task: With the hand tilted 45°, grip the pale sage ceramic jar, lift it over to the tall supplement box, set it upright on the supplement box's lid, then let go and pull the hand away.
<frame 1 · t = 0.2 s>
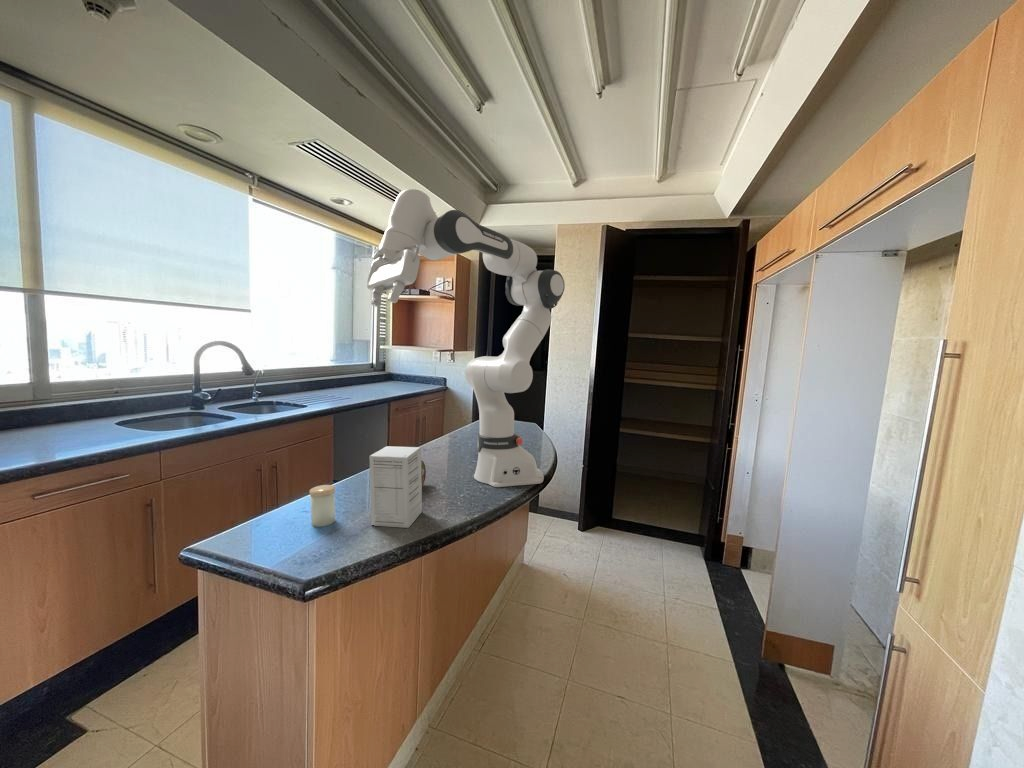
hand: (383, 304, 92), 52 cm above the countertop, tool tilted 20°, fingers open, 8 cm apart
supplement box: (397, 519, 92), on the countertop
tin: (410, 492, 109), on the countertop
jar: (323, 521, 90), on the countertop
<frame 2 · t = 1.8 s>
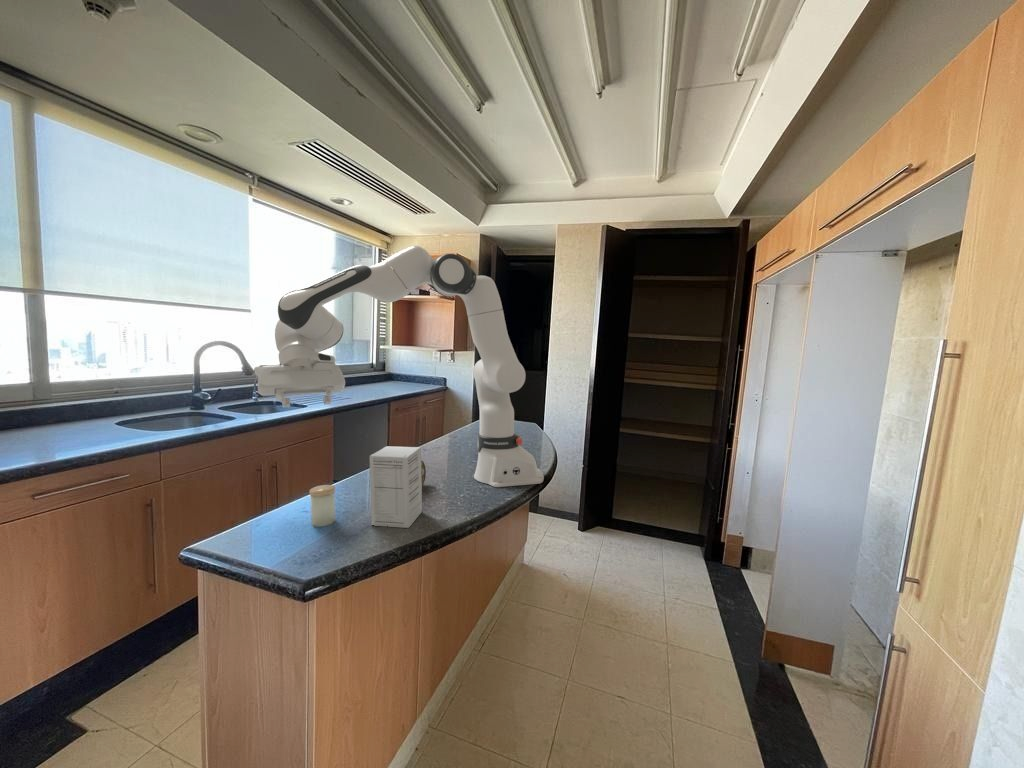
hand: (308, 404, 97), 27 cm above the countertop, tool tilted 45°, fingers open, 8 cm apart
nothing on the countertop moved.
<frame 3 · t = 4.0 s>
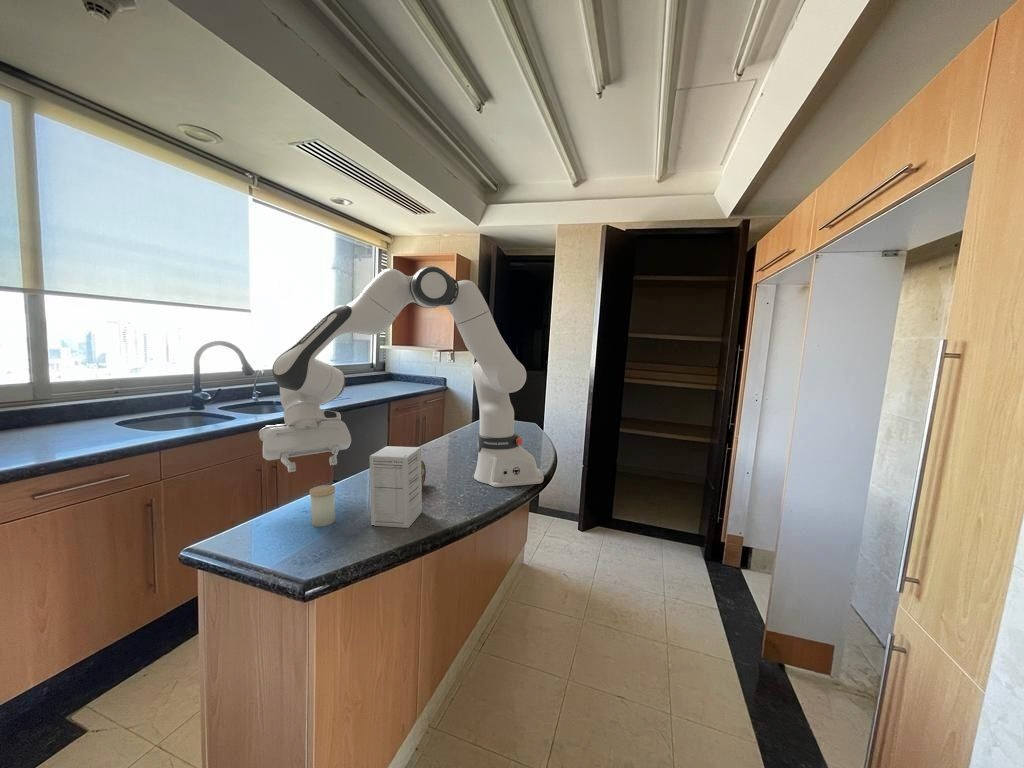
hand: (313, 467, 95), 11 cm above the countertop, tool tilted 45°, fingers open, 8 cm apart
nothing on the countertop moved.
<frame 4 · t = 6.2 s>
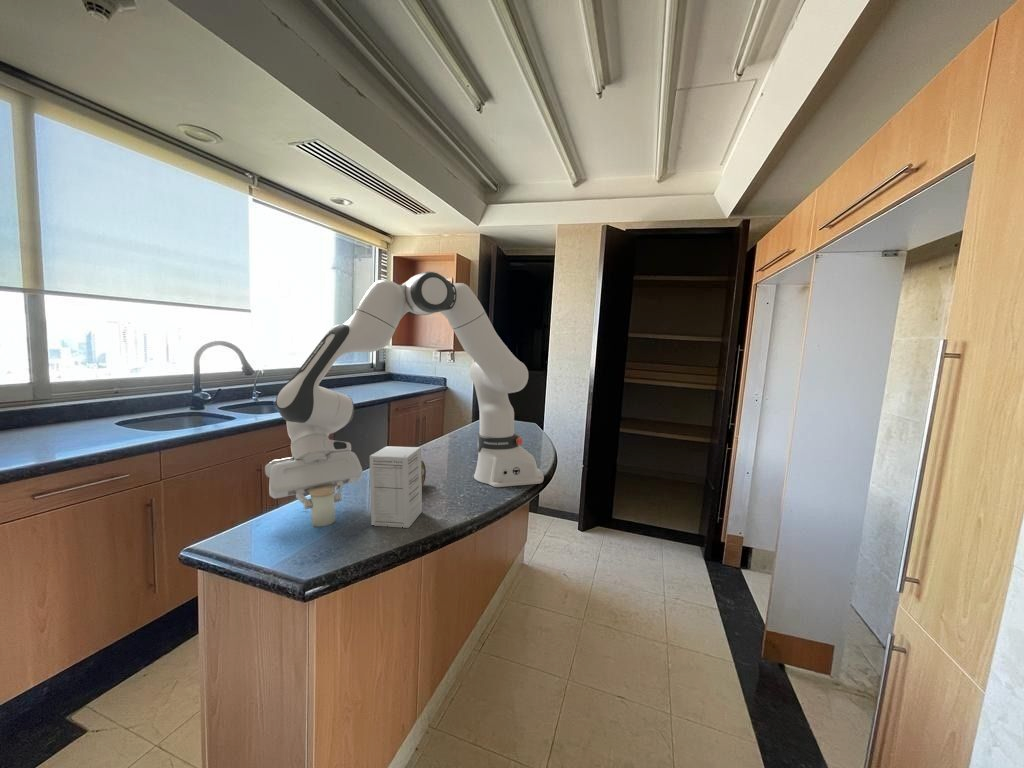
hand: (323, 504, 89), 4 cm above the countertop, tool tilted 45°, fingers closed on jar, 5 cm apart
jar: (323, 521, 90), on the countertop, touching gripper
everything else where it was.
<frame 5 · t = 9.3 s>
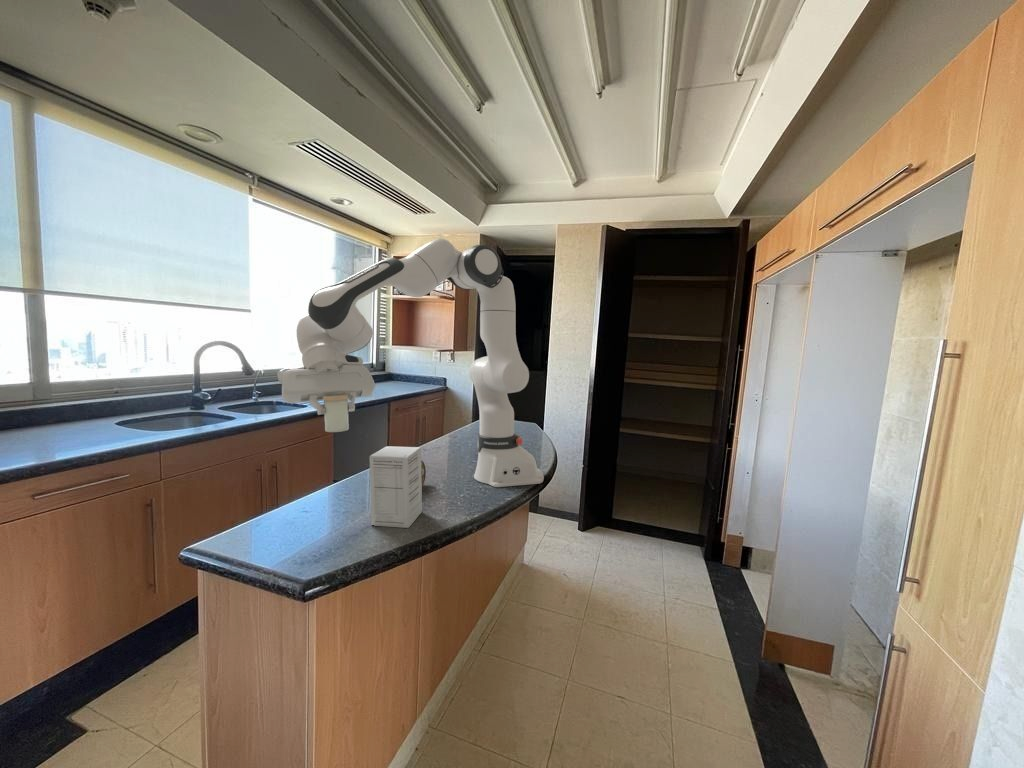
hand: (337, 411, 87), 26 cm above the countertop, tool tilted 45°, fingers closed on jar, 5 cm apart
jar: (337, 429, 88), point 22 cm above the countertop, touching gripper
everything else where it was.
when the fingers open (23 cm above the countertop, at t = 12.6 s): jar drops 2 cm, resting on supplement box.
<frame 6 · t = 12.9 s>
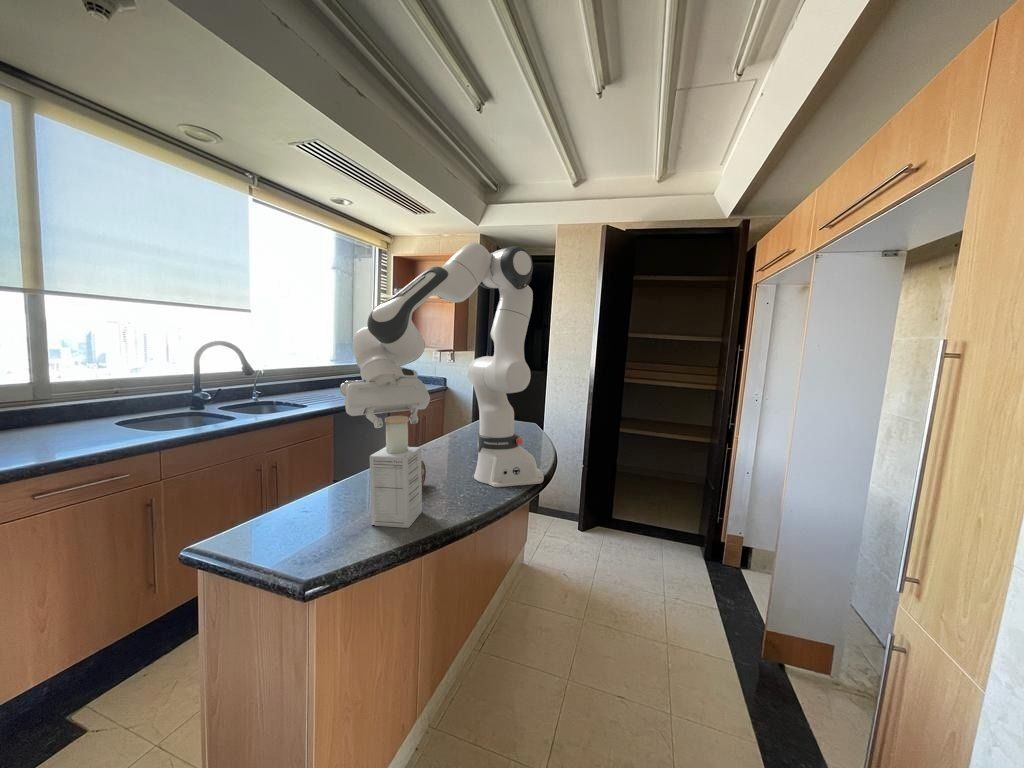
hand: (397, 424, 89), 23 cm above the countertop, tool tilted 45°, fingers open, 7 cm apart
supplement box: (397, 519, 92), on the countertop, touching jar
jar: (397, 450, 90), point 17 cm above the countertop, touching supplement box
everything else where it was.
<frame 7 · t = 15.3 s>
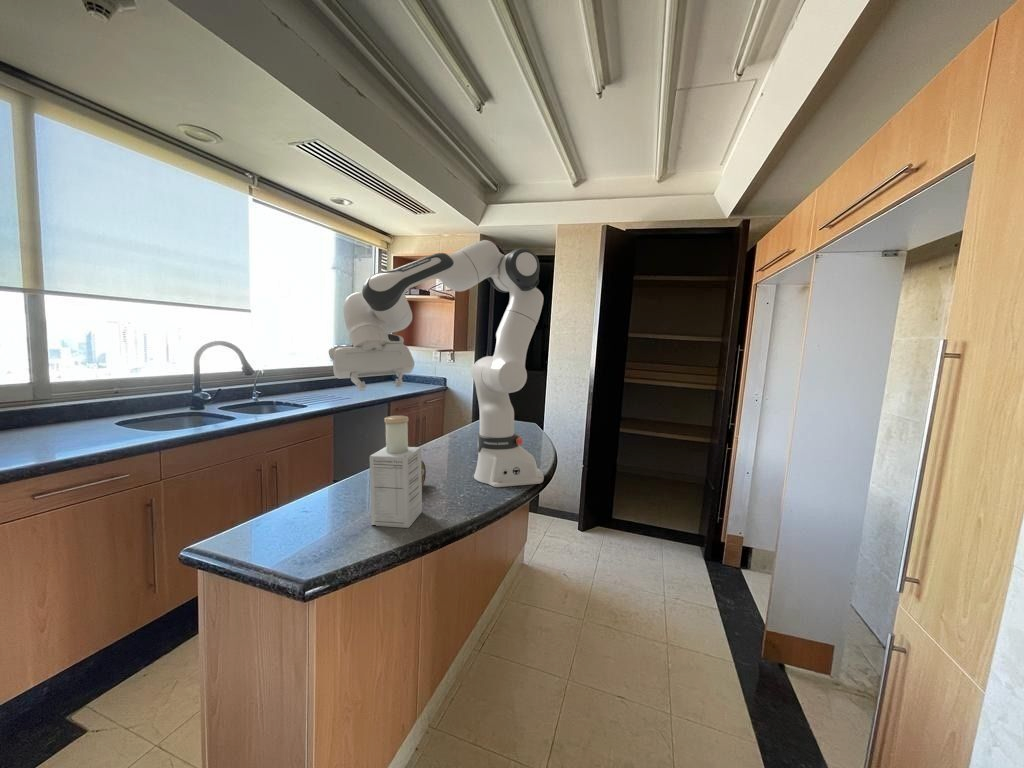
hand: (381, 387, 97), 31 cm above the countertop, tool tilted 40°, fingers open, 8 cm apart
nothing on the countertop moved.
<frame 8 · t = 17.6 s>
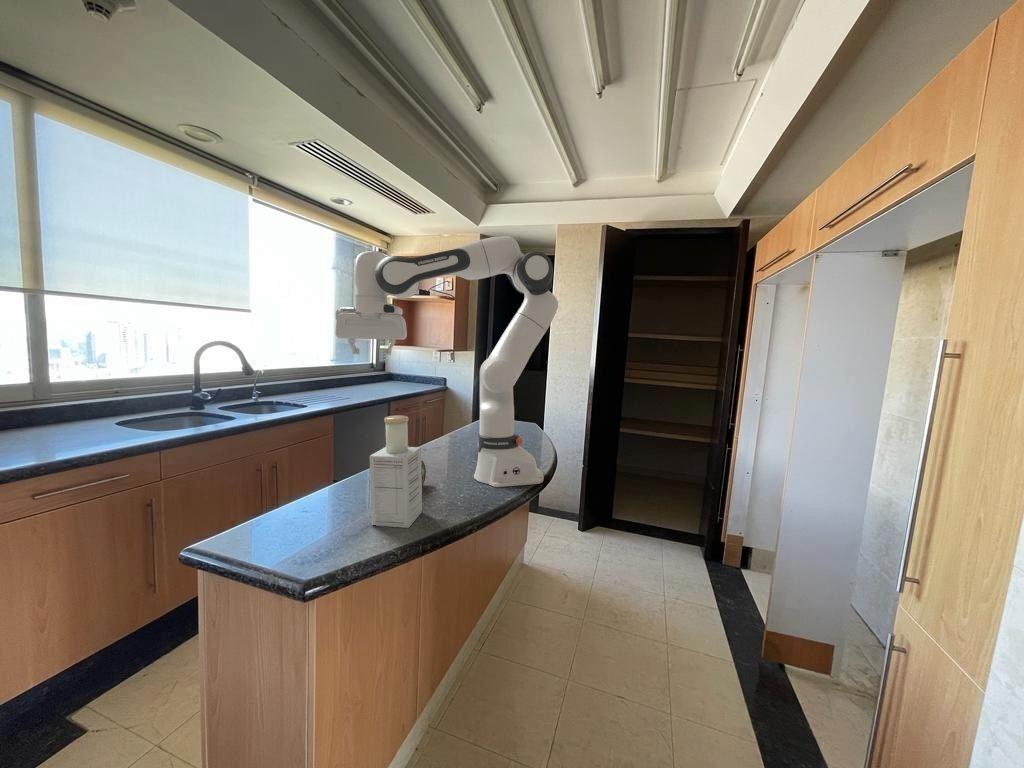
hand: (372, 354, 114), 39 cm above the countertop, tool pointing down, fingers open, 8 cm apart
nothing on the countertop moved.
at the end: jar 0.1 cm from the supplement box (horizontally); jar point 16.9 cm above the countertop; jar tilted 1° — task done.
